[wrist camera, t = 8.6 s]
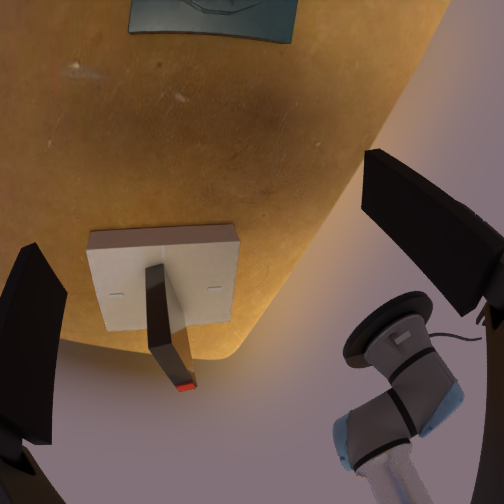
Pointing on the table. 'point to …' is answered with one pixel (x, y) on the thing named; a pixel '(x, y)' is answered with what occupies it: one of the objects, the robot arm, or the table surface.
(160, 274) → the tap handle
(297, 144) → the table surface
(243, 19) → the button block
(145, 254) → the plate
